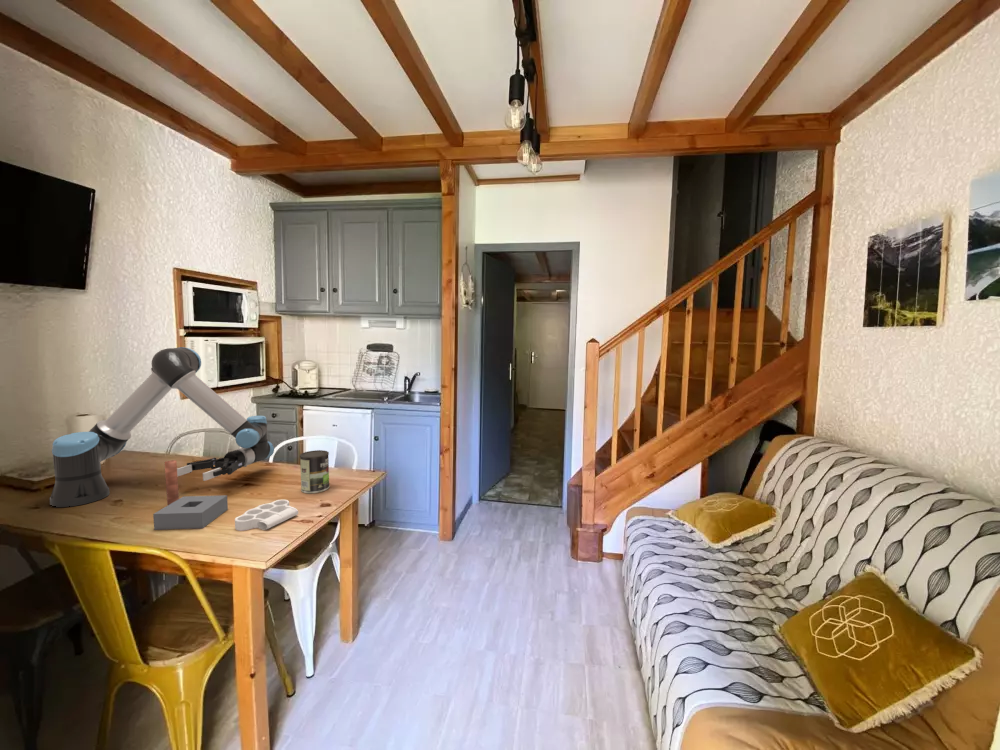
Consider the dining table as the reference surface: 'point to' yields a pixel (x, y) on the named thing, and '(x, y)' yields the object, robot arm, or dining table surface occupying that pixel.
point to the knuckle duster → (265, 515)
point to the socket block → (190, 512)
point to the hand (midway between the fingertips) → (188, 475)
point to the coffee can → (314, 471)
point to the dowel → (171, 481)
